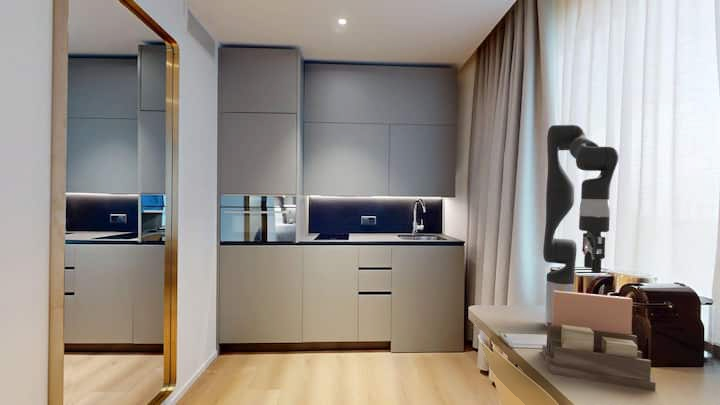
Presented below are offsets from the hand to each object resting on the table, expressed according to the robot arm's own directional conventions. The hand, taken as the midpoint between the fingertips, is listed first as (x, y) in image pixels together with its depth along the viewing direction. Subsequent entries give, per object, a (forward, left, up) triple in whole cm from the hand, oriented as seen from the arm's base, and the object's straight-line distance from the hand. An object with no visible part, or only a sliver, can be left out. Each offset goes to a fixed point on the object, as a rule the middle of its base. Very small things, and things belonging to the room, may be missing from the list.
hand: (592, 270), depth 111 cm
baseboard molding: (-12, -8, -28) cm, 31 cm away
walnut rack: (+4, 0, -27) cm, 27 cm away
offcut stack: (+9, 0, -25) cm, 27 cm away
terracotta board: (0, 0, -25) cm, 25 cm away
